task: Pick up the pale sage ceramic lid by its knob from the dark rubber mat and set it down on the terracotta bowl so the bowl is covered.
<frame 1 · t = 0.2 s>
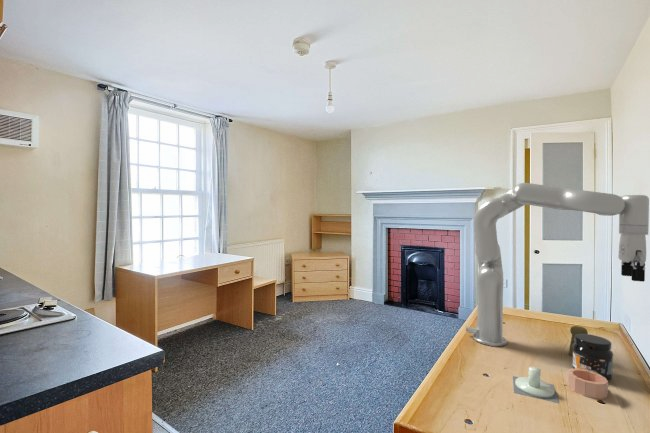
hand: (632, 278, 114), 31 cm above the table, fingers open, 9 cm apart
bowl: (586, 391, 98), on the table
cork: (578, 356, 122), on the table
supplement container: (591, 374, 108), on the table
mat: (534, 390, 98), on the table
lid: (534, 388, 98), point 1 cm above the table, touching mat
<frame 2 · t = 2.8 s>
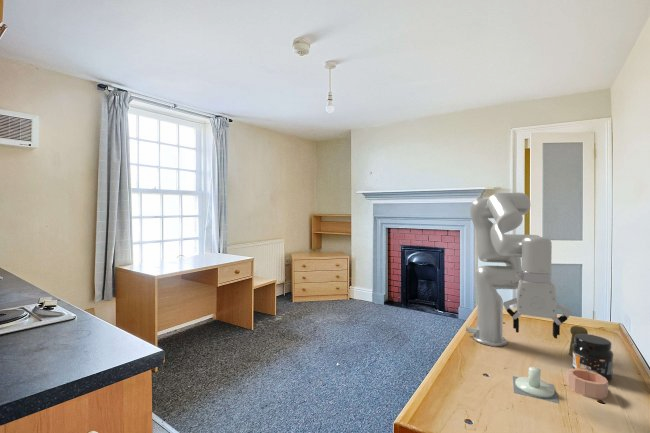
hand: (535, 333, 98), 17 cm above the table, fingers open, 9 cm apart
nothing on the table moved.
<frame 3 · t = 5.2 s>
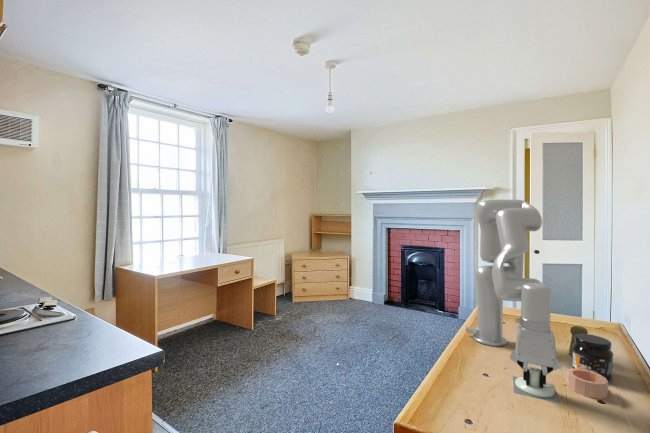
hand: (534, 383, 98), 2 cm above the table, fingers closed on lid, 3 cm apart
lid: (534, 388, 98), point 1 cm above the table, touching gripper, mat
everything else where it was.
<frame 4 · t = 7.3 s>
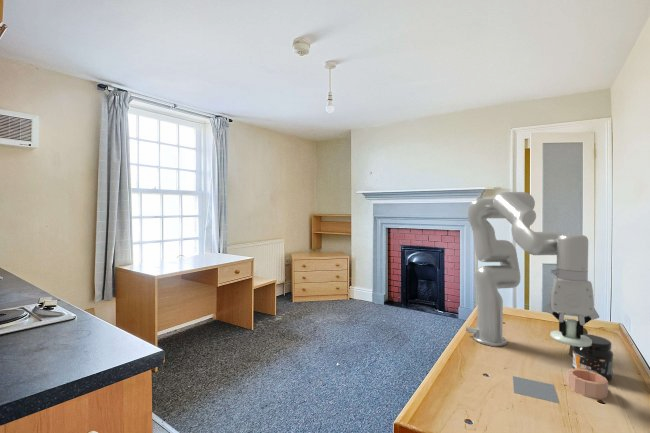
hand: (570, 335, 98), 17 cm above the table, fingers closed on lid, 3 cm apart
lid: (570, 339, 98), point 16 cm above the table, touching gripper
everything else where it was.
when the fingers open (8 cm above the table, at t = 9.7 s): lid drops 1 cm, resting on bowl.
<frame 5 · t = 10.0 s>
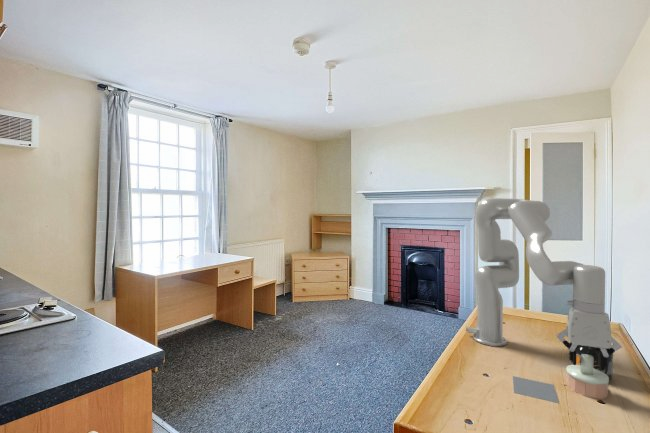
hand: (587, 365, 98), 8 cm above the table, fingers open, 6 cm apart
lid: (586, 375, 98), point 5 cm above the table, touching bowl
everything else where it was.
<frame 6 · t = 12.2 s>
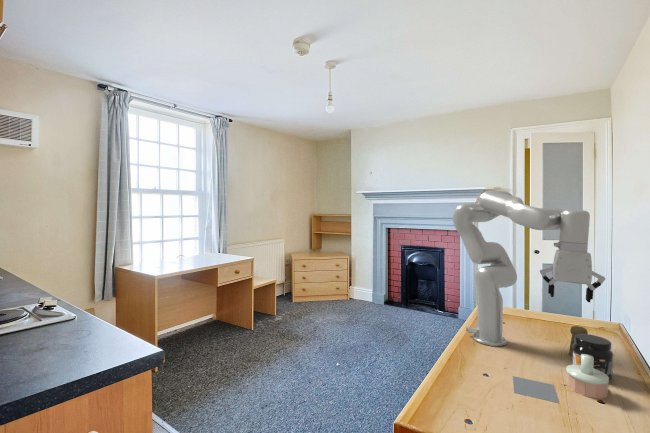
hand: (569, 298, 107), 26 cm above the table, fingers open, 9 cm apart
nothing on the table moved.
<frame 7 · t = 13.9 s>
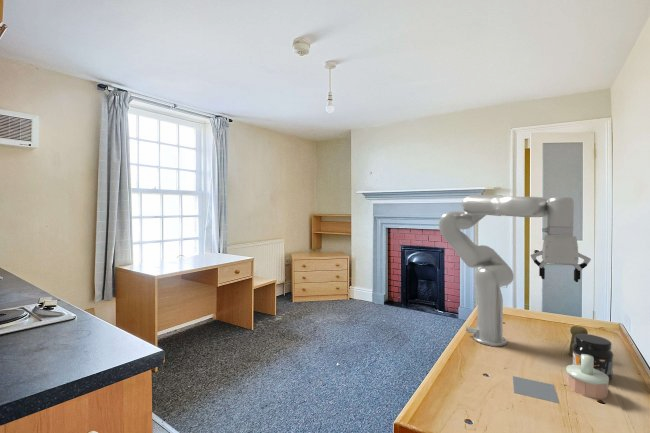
hand: (559, 279, 115), 30 cm above the table, fingers open, 9 cm apart
nothing on the table moved.
at the end: lid 0.1 cm off-centre on the bowl, point 4.8 cm above the bowl's base; lid tilted 0°; the gripper is holding nothing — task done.
